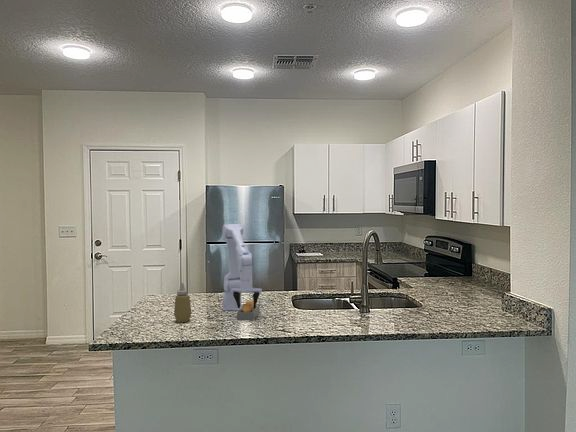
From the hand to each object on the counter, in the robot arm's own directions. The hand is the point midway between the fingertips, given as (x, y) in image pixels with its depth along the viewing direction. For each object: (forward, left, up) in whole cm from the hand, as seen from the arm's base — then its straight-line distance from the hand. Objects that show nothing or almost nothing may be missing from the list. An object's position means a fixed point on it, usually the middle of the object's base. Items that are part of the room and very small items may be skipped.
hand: (246, 308), depth 218 cm
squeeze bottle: (-29, -8, -5) cm, 30 cm away
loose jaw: (0, 0, -4) cm, 4 cm away
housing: (0, +4, -5) cm, 6 cm away
